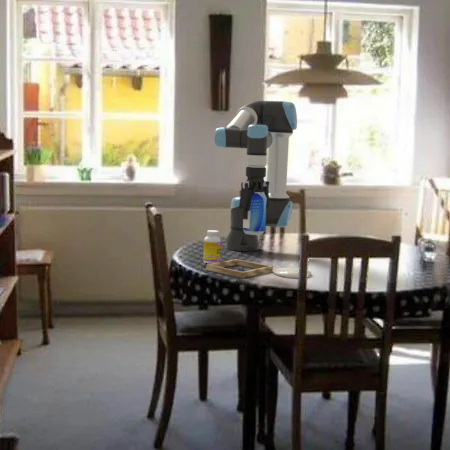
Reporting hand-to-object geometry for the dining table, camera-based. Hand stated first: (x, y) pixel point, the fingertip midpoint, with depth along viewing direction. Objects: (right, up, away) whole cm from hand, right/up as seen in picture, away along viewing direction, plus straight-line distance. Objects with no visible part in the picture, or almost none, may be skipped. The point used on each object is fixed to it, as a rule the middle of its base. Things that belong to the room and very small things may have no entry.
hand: (253, 226), depth 299 cm
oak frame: (-5, -17, +3) cm, 18 cm away
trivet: (+15, -18, +1) cm, 23 cm away
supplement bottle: (-16, -15, +16) cm, 27 cm away
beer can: (0, -3, +1) cm, 3 cm away
